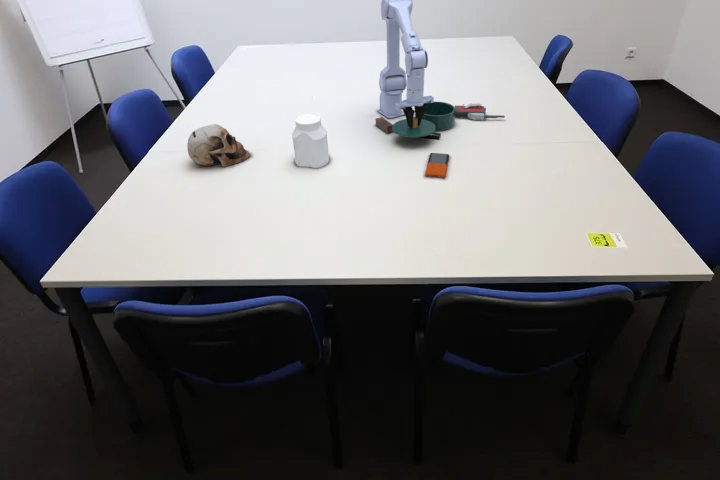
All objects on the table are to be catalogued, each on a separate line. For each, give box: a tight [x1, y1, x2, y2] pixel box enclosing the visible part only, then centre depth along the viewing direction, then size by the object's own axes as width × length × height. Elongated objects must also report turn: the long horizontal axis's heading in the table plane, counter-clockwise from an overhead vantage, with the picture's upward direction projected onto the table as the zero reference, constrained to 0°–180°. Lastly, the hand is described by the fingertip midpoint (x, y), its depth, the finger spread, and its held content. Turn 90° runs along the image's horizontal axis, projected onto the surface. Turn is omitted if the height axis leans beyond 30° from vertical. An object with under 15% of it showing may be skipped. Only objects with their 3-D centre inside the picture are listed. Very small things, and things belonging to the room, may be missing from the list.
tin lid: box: [392, 116, 436, 139], centre depth 168 cm, size 15×15×4 cm
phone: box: [424, 152, 450, 179], centre depth 154 cm, size 6×1×15 cm
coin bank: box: [186, 123, 251, 168], centre depth 160 cm, size 16×17×13 cm
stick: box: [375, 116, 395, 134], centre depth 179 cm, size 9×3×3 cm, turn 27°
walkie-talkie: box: [454, 103, 506, 121], centre depth 185 cm, size 9×4×20 cm
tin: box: [422, 101, 456, 132], centre depth 180 cm, size 14×14×6 cm
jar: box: [291, 113, 330, 169], centre depth 156 cm, size 12×10×15 cm
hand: (413, 125), depth 168 cm, fingers closed on tin lid, 2 cm apart
